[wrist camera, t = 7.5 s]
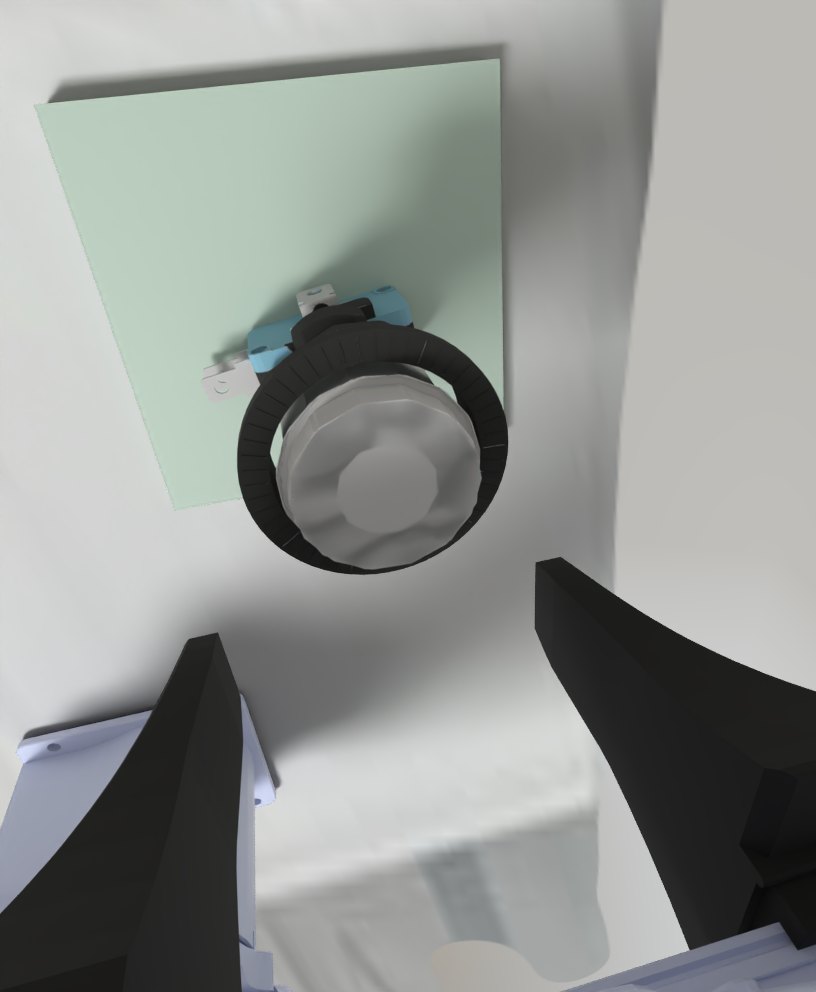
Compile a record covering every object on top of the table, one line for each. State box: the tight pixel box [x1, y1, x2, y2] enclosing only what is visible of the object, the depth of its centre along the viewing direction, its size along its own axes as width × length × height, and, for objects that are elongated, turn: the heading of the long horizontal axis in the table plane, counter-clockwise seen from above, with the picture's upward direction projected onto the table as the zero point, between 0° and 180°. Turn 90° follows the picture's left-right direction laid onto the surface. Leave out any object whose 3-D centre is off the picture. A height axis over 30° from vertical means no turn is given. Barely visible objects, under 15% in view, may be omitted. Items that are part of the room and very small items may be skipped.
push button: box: [201, 284, 508, 575], centre depth 16 cm, size 7×5×10 cm
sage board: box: [34, 58, 504, 511], centre depth 20 cm, size 12×12×1 cm
